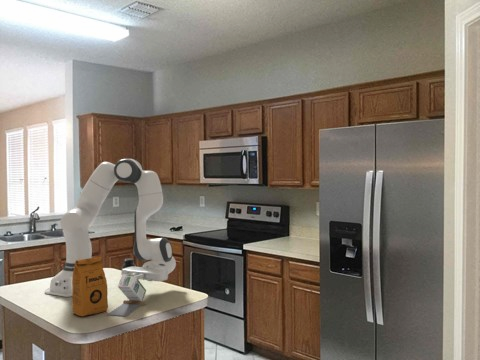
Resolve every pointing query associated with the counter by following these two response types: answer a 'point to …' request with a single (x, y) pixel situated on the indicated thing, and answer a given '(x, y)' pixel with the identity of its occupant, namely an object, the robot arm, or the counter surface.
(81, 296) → the coffee package
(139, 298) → the syrup box
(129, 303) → the brown block
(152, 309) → the counter surface
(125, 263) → the supplement bottle
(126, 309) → the mat
